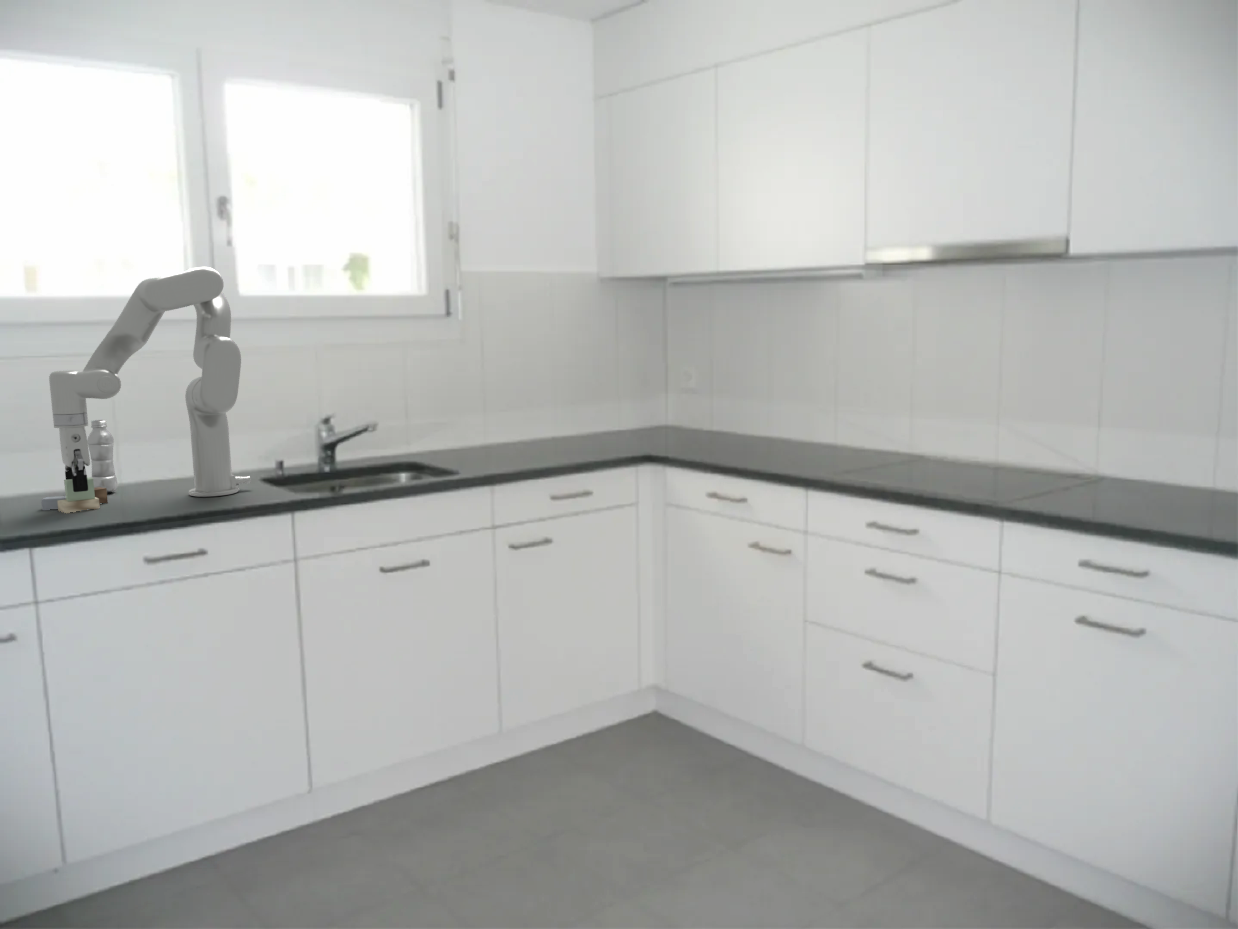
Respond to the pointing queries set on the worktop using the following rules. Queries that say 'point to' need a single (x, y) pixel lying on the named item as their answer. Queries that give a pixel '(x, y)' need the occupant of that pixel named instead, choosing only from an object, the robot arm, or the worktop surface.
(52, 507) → the slate brick
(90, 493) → the sage brick
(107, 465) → the plastic bottle
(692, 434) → the worktop surface
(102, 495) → the walnut brick
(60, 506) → the birch brick
